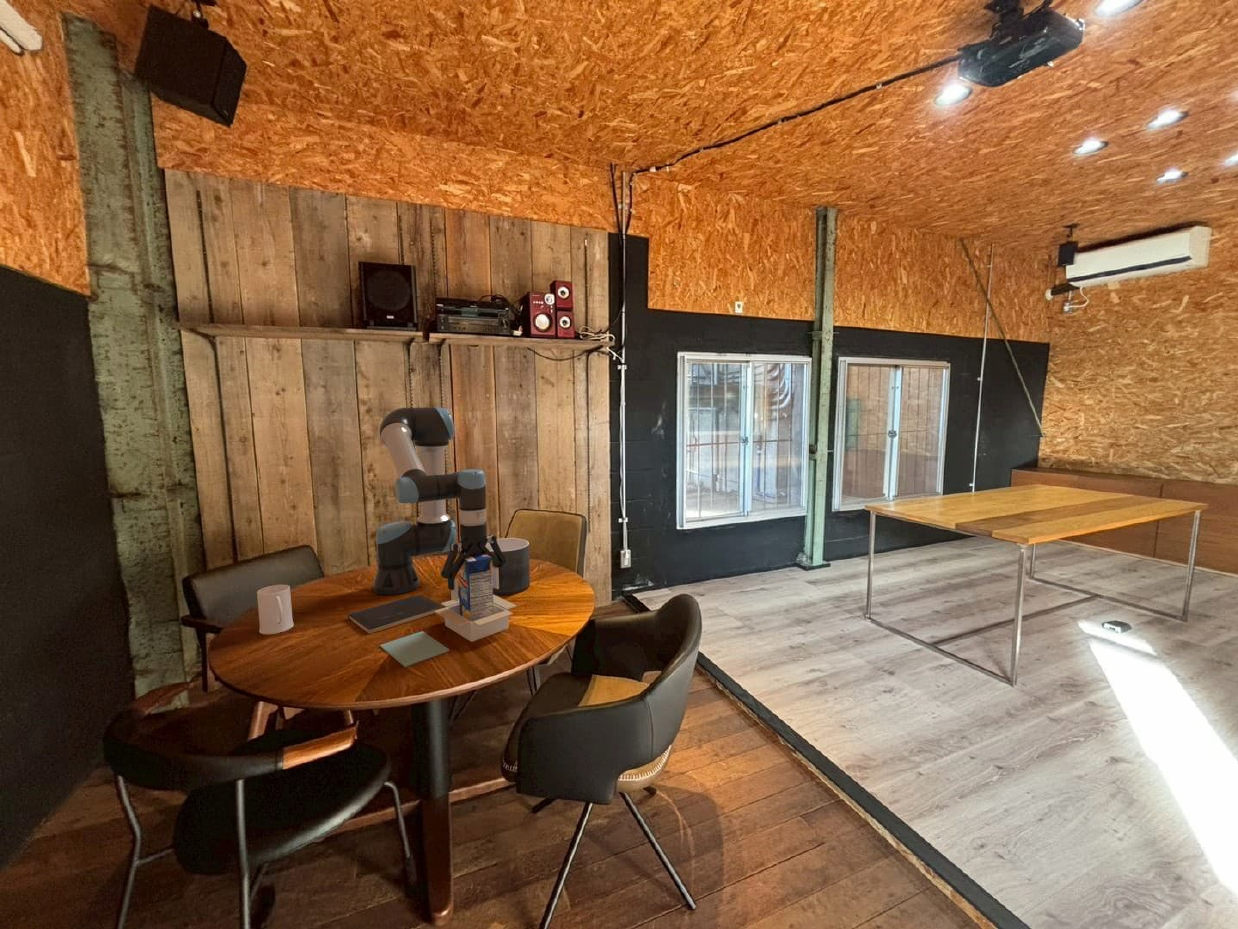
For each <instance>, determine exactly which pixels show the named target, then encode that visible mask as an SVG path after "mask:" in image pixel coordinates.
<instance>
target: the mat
mask: <svg viewBox="0 0 1238 929" xmlns="http://www.w3.org/2000/svg"><path fill="white" fill-rule="evenodd" d="M379 646H380V648H381V649H383V650H384V651H385V652H386V653H387V654H388V655H390V656H391V657H392V658H393V659H394V660H396V661H397V662H398V663H400V665H401V666H403V667H404V668H407V667H409V666H412V665H414V664H417V663H420V662H423V661H425V660H428V659H431V658H434V657H436V656H439V655H442V654H445V653H447V652H450V649H449V648H448V647H447V646H445V645H444V644H442V643H440V642H439V641H437V640H436V639H435V638H433V637H432V636H430V635H429V634H428V633H426V632H425V631H423V630H422V631H418V632H416V633H413V634H409V635H406V636H404V637H400V638H397V639H394V640H391V641H388V642H386V643H382V644H379Z"/></svg>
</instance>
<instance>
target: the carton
mask: <svg viewBox="0 0 1238 929" xmlns="http://www.w3.org/2000/svg"><path fill="white" fill-rule="evenodd" d="M440 605H442V606H443V607H444V608H443V607H442V609H439V610H436V611H434V612H435V613H434V614H437V615H439V616H441V618H442V617H443V619H444V624H445V625H444V626H445V627H447V628H449V630H452V631H453V632H454V633H457V635H459V636H462V637H463V638H465V639H466V640H468V641H470V642H471V643H472V642H475V641H478V640H481V639H483V638H486V637H489V636H492V635H495V634H497V633H500V632H502V631H506V630H509V628H510V626H509V624H510V621H509V617H510V616H513V615H514V613H513V612H511V611H510V609H511V610H512V609H513V608H517V607H518V605H517V604H514V603H512V602H510V601H508V600H506V599H504V598H502V597H500V596H499V595H493V610H494V614H493V615H490V616H487V617H484V618H482V619H479V620H476V621H473V622H471V621H469V620H468V619H466V618H464V617H462V616H461V615H460V605H459V597H458V601H454V600H452V599H451V600H447V601H444V602H441V603H440Z"/></svg>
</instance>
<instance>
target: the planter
mask: <svg viewBox="0 0 1238 929" xmlns="http://www.w3.org/2000/svg"><path fill="white" fill-rule="evenodd" d="M497 544H498V546H499V548H500V549H501V551H502V553H503V555H504V557H505V559H506V563H505V564H503V566H502V567H501V575H500V577H499V589H495V588H493V595H496V596H508V595H514V594H518V593H521V592H523V591H525V590H527V589H528V588H530V585H531V582H530V574H531V573H530V571H531V570H530V542H529V541H528V540H526V539H522V538H516V537H502V538H497ZM485 547H486V548H487V549H488V550H489V551H490V552H491V554H492V555H493V556H494V557H495V558H496V559H497V557H496V555H495V553H494V551H493V549H492V547H491V545H490V543H488V542H487V544H486V546H485ZM497 560H498V559H497ZM492 566H494V564H493V563H492Z"/></svg>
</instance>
